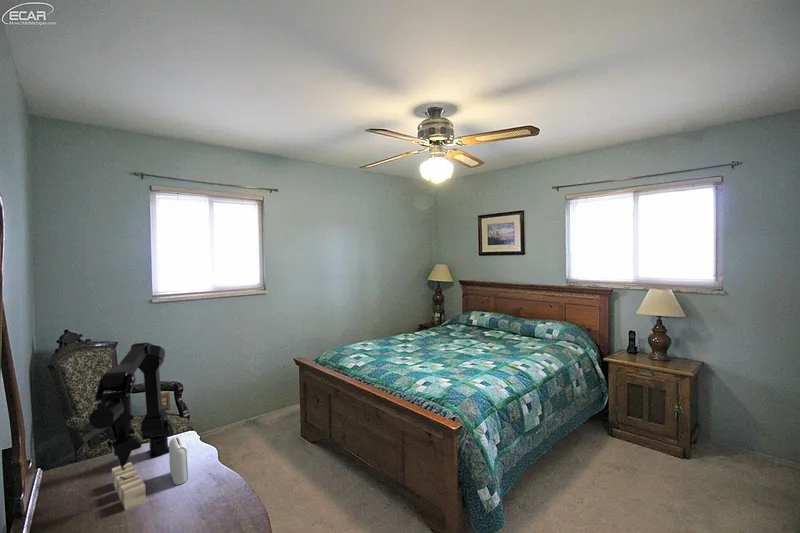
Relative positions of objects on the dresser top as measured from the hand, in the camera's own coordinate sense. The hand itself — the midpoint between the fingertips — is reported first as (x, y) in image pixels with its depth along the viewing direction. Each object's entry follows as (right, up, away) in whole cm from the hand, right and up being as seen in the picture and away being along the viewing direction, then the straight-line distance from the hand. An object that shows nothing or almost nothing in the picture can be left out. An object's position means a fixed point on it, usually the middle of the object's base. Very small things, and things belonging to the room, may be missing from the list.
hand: (122, 465), depth 111 cm
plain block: (+4, -10, -1) cm, 11 cm away
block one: (-6, -10, +9) cm, 15 cm away
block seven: (-1, -10, +4) cm, 11 cm away
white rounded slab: (+10, -10, +11) cm, 18 cm away
